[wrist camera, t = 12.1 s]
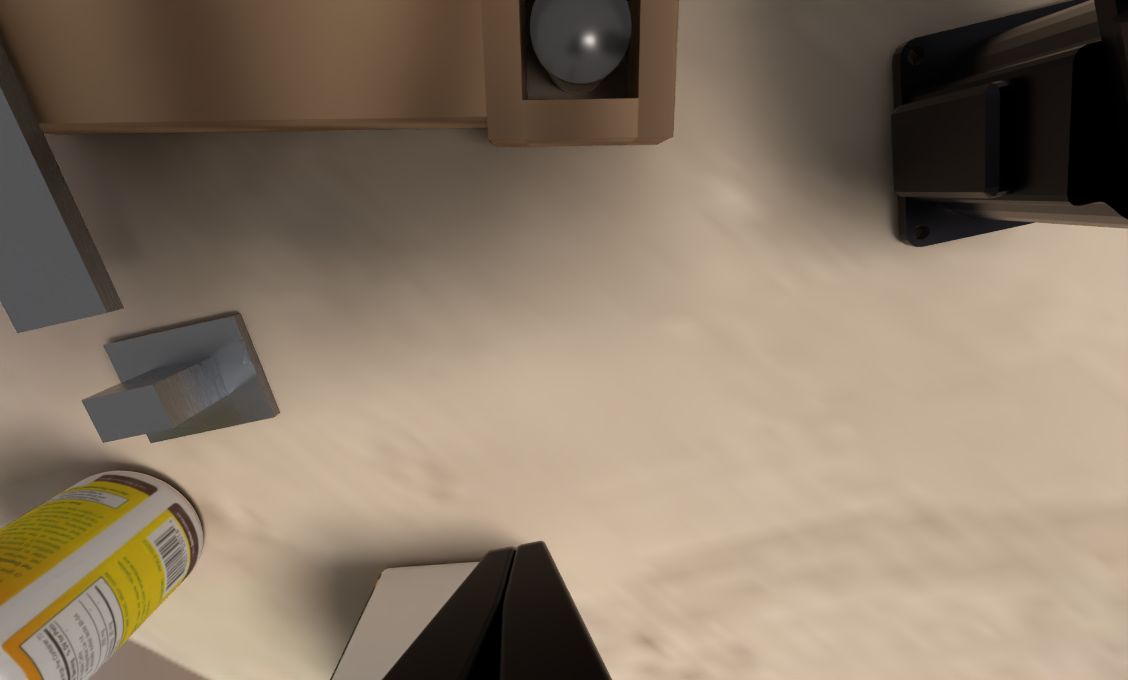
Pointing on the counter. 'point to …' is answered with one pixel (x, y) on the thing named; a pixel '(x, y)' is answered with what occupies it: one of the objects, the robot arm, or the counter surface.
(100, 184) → the counter surface
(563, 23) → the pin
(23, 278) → the grey flat bar piece
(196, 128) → the tan wooden bar
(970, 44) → the robot arm
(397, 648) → the medicine bottle
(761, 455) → the counter surface
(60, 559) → the supplement bottle
